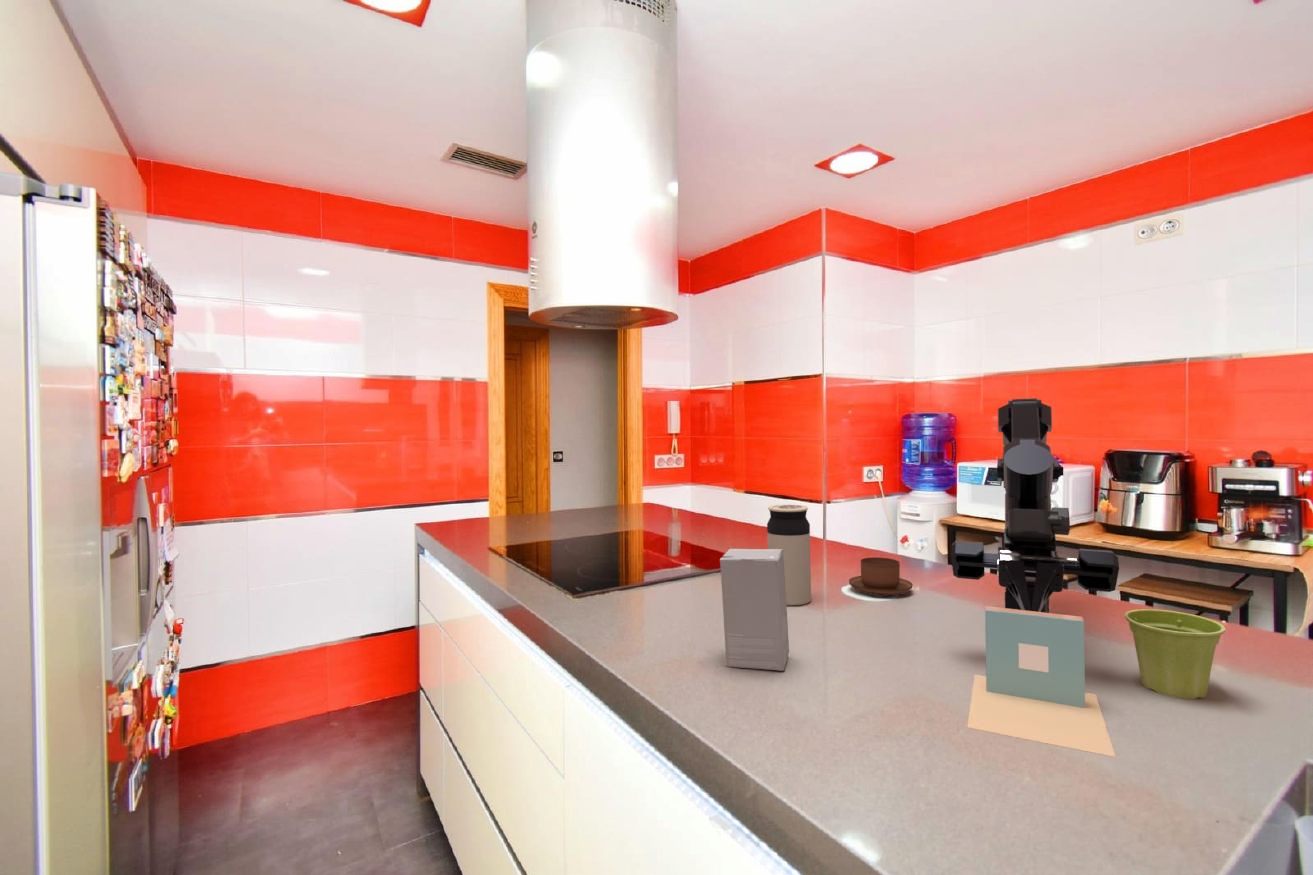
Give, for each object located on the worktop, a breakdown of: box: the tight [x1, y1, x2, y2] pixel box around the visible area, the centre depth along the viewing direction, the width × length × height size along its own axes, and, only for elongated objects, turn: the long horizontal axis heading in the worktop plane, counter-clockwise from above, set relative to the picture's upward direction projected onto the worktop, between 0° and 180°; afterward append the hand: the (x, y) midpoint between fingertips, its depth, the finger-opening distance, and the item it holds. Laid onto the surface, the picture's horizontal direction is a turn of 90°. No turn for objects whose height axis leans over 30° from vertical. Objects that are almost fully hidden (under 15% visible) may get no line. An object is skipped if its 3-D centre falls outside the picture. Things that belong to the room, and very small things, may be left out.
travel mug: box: [766, 504, 812, 607], centre depth 118 cm, size 8×8×18 cm
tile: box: [984, 605, 1086, 708], centre depth 74 cm, size 2×10×10 cm, turn 60°
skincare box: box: [719, 548, 790, 672], centre depth 87 cm, size 8×7×16 cm
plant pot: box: [1124, 608, 1226, 700], centre depth 75 cm, size 9×9×9 cm
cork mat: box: [966, 674, 1116, 758], centre depth 70 cm, size 16×13×1 cm
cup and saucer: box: [848, 556, 913, 597], centre depth 123 cm, size 12×12×6 cm
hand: (1031, 621), depth 77 cm, fingers closed
